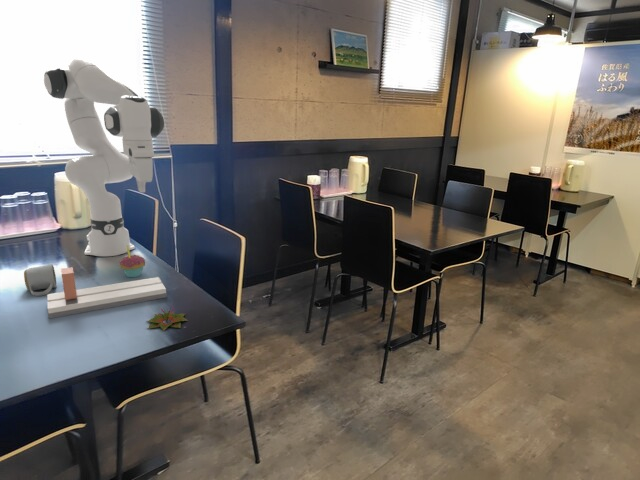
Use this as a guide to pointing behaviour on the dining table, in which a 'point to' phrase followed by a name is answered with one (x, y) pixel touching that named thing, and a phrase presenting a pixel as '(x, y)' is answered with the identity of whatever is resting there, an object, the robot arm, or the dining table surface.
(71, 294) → the fader
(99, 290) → the white slider track base
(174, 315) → the lily flower
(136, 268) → the cupcake
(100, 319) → the dining table surface
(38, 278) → the ceramic mug
